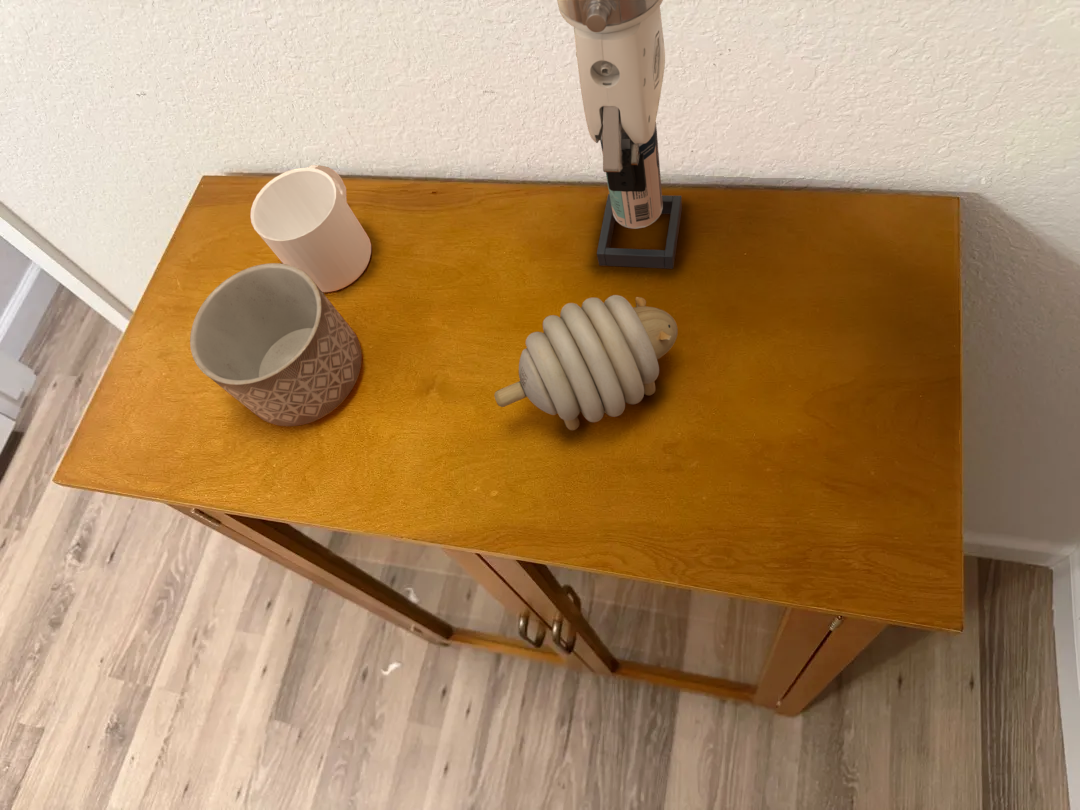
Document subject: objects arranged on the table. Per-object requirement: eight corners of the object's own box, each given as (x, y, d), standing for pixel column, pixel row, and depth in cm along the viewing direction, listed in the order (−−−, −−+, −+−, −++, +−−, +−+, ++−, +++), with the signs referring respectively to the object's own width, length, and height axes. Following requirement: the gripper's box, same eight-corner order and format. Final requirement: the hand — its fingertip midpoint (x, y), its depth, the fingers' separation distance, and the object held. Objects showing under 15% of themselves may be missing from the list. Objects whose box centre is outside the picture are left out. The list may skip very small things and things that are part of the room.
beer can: (672, 201, 74) (666, 105, 63) (647, 238, 73) (637, 147, 62) (628, 186, 76) (615, 90, 65) (604, 222, 74) (586, 130, 64)
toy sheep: (706, 392, 69) (705, 329, 59) (540, 482, 69) (512, 434, 59) (647, 308, 74) (637, 237, 64) (492, 392, 73) (458, 333, 64)
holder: (682, 208, 78) (681, 195, 76) (673, 269, 75) (672, 257, 74) (610, 206, 80) (608, 193, 78) (598, 265, 77) (596, 253, 75)
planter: (285, 309, 83) (233, 251, 73) (386, 335, 79) (344, 277, 69) (228, 413, 78) (164, 365, 69) (332, 445, 74) (279, 399, 65)
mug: (349, 302, 81) (308, 249, 73) (280, 284, 84) (234, 230, 76) (398, 213, 85) (365, 153, 77) (331, 198, 88) (292, 139, 80)
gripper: (647, 66, 48) (662, 244, 64) (679, -109, 55) (686, 92, 71) (532, 68, 50) (575, 240, 66) (576, -101, 57) (605, 93, 73)
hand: (632, 162), depth 68 cm, fingers closed on beer can, 4 cm apart
